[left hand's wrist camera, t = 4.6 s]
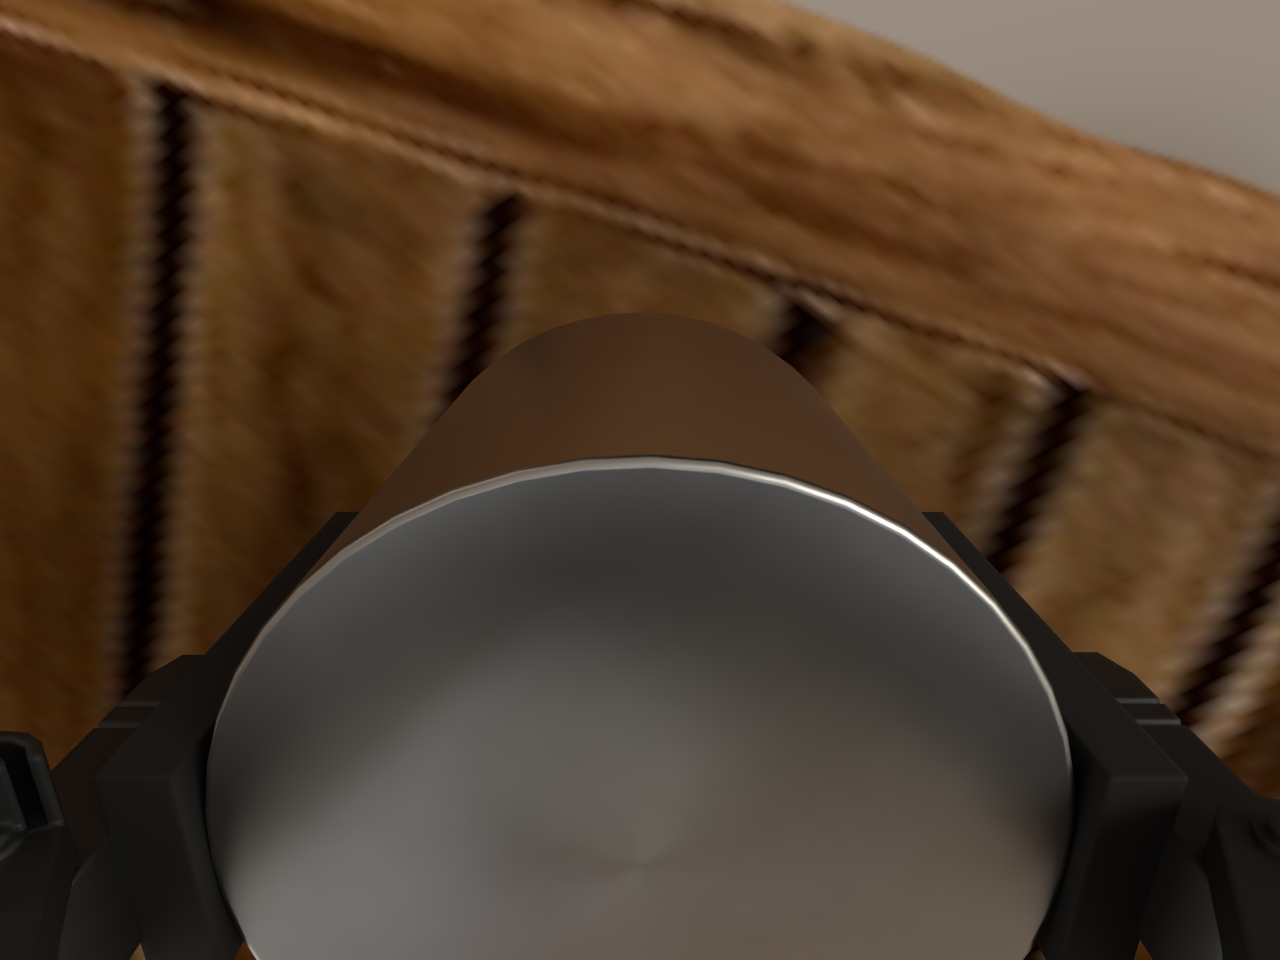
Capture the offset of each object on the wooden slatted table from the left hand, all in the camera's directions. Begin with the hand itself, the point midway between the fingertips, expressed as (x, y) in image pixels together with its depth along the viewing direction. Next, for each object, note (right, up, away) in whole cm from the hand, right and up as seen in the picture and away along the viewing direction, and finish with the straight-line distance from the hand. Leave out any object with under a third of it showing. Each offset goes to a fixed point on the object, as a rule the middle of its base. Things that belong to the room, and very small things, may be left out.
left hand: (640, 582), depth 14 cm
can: (0, +1, +2) cm, 2 cm away
